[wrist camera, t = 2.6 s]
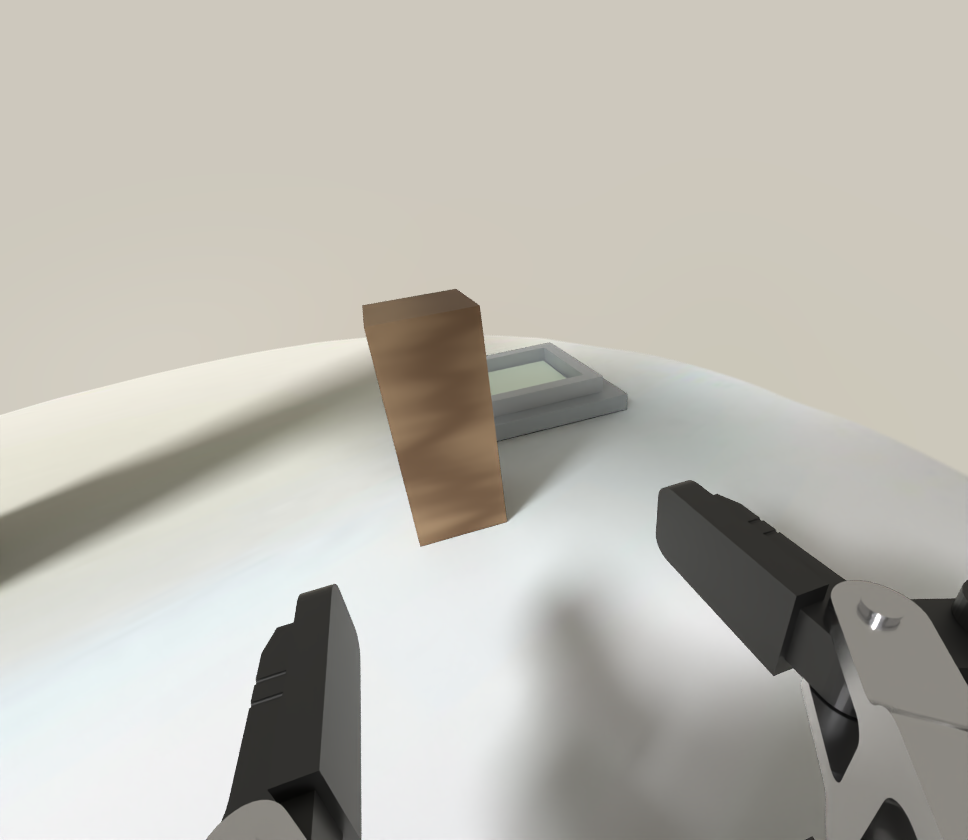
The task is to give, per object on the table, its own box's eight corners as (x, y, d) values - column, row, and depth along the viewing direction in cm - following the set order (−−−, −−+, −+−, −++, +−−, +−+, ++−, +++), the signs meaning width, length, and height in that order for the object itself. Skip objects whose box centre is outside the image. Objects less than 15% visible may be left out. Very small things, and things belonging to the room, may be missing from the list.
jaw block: (420, 546, 21) (364, 327, 16) (410, 494, 25) (362, 305, 20) (507, 521, 22) (479, 305, 17) (484, 475, 26) (456, 289, 21)
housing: (408, 463, 28) (397, 420, 26) (394, 396, 38) (385, 362, 37) (626, 408, 31) (628, 367, 29) (558, 360, 41) (556, 328, 40)
